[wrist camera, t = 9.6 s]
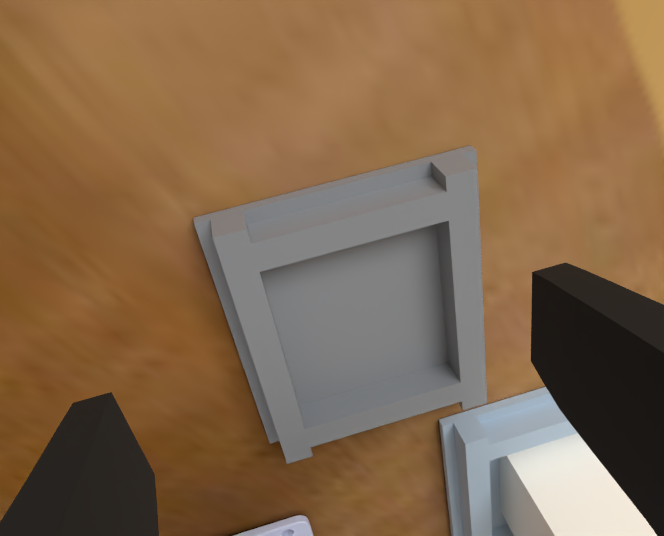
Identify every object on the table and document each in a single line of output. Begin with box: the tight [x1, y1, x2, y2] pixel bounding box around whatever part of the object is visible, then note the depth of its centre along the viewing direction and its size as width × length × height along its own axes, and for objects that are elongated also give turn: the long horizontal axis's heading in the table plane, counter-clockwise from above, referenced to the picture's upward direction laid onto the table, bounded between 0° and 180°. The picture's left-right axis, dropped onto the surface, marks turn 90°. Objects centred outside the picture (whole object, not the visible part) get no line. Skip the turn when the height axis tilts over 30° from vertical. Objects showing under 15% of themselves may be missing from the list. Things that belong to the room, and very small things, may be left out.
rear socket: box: [439, 387, 577, 536], centre depth 28 cm, size 9×10×2 cm
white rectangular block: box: [500, 433, 657, 536], centre depth 26 cm, size 4×5×6 cm
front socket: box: [194, 146, 487, 464], centre depth 21 cm, size 9×10×2 cm
